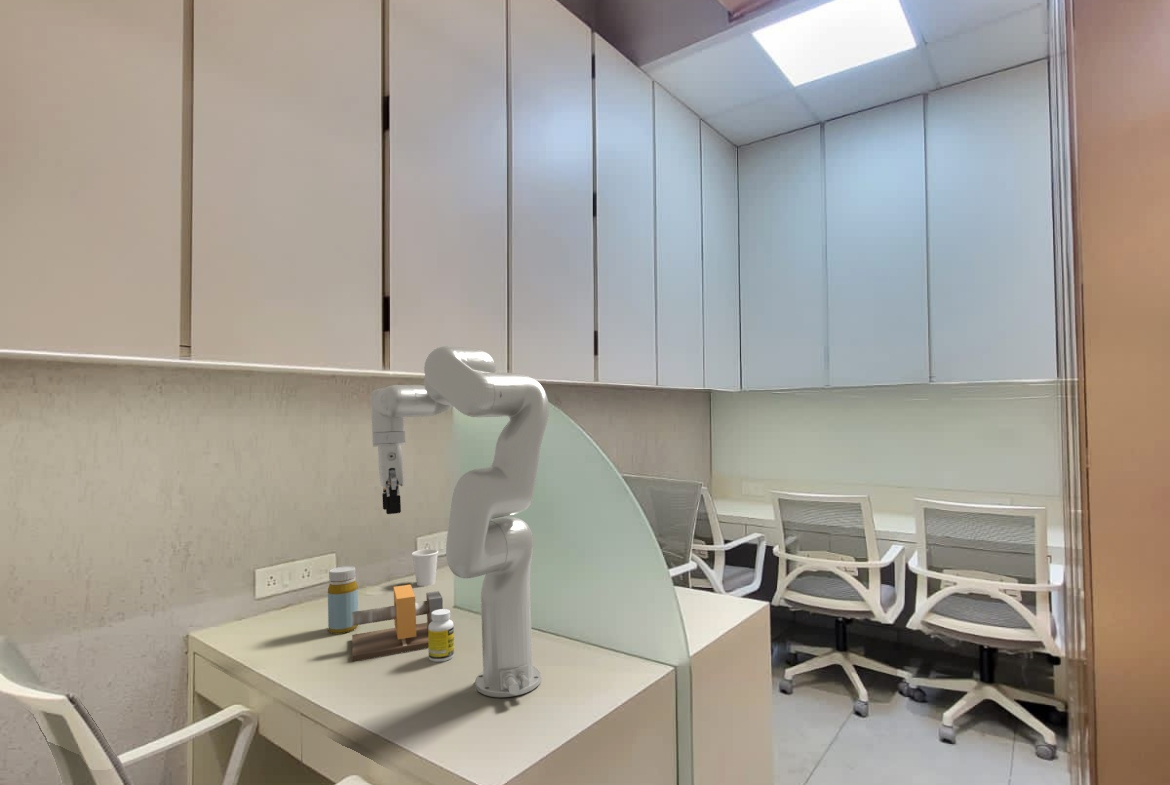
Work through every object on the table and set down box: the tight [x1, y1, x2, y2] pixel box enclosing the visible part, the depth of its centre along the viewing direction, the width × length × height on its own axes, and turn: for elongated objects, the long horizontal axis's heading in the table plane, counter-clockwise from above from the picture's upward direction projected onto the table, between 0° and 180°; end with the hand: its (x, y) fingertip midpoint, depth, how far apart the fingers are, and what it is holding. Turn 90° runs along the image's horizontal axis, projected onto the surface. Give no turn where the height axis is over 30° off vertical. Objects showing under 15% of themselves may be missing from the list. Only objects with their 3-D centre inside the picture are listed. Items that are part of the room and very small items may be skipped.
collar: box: [393, 584, 417, 639], centre depth 138 cm, size 11×4×9 cm, turn 22°
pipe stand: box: [351, 590, 444, 662], centre depth 137 cm, size 14×20×10 cm
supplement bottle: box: [428, 608, 455, 663], centre depth 127 cm, size 5×5×10 cm
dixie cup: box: [411, 548, 439, 587], centre depth 187 cm, size 8×8×10 cm
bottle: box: [327, 565, 359, 634], centre depth 148 cm, size 7×7×15 cm
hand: (391, 511), depth 140 cm, fingers open, 9 cm apart
